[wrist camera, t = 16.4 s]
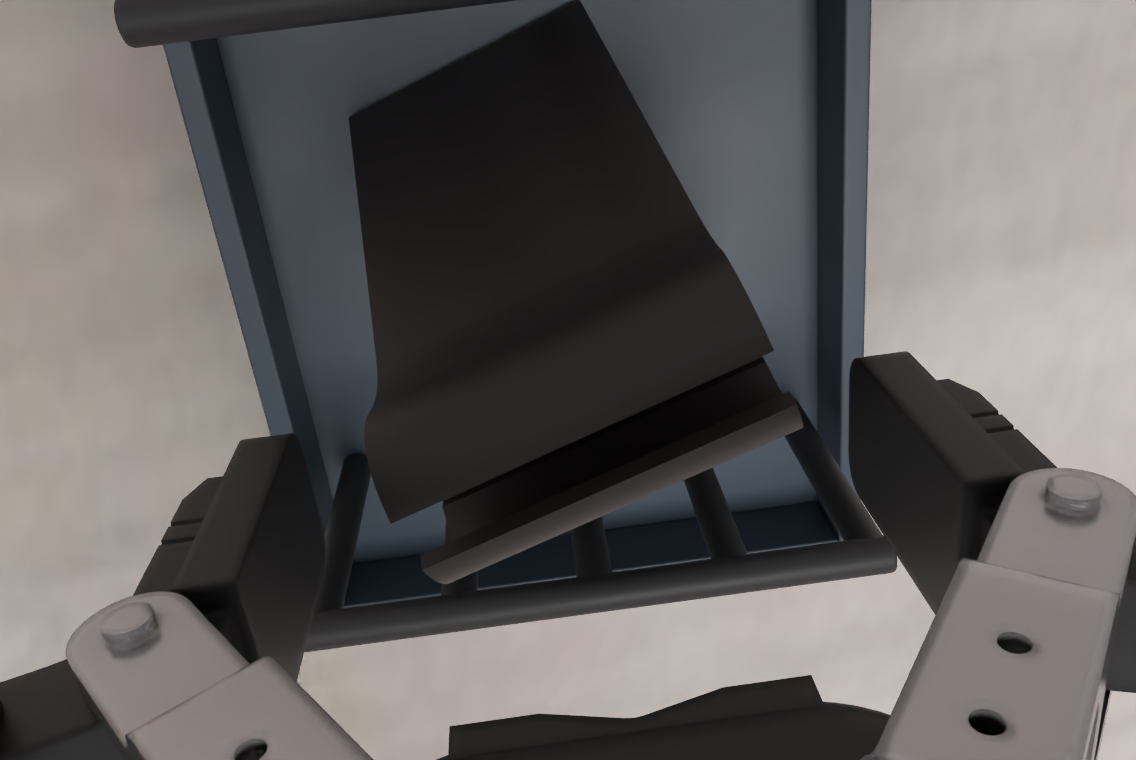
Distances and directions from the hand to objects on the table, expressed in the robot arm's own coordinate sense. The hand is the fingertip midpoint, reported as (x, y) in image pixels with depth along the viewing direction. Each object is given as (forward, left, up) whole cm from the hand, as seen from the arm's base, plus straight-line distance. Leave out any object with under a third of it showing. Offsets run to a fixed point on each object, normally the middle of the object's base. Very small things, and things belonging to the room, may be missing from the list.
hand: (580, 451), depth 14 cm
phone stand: (0, 0, -12) cm, 12 cm away
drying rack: (0, 0, -13) cm, 13 cm away
